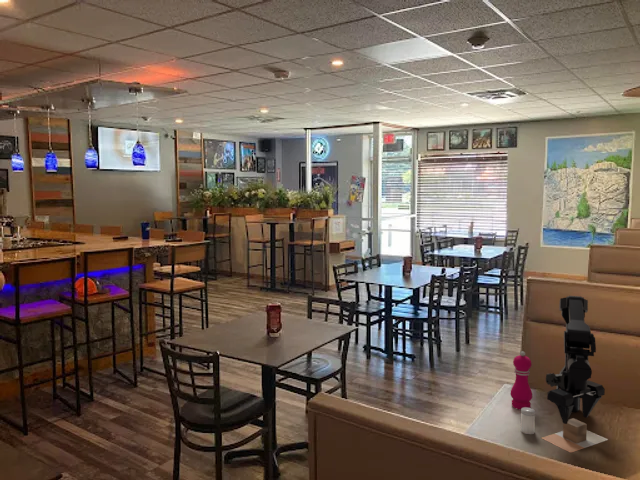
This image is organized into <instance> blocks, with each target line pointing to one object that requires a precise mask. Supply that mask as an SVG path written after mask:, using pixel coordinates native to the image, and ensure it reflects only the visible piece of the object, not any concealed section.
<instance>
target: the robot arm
mask: <svg viewBox="0 0 640 480" xmlns="http://www.w3.org/2000/svg"><path fill="white" fill-rule="evenodd" d="M588 303H589V300H588V299H585V298H584V297H583V296H581V295H567V296H566V297H562V298H559V307H558V308H559V310H558V311H559V312H561V313H560V315H561V317H562V318H563V320H564V323H565V330H564V331H563V351H564V352H563V353H564V366H563V367H562V368H561V370H559V373H557V374H555V372H553V373H546V375H545V376H546V377H545V382H546V384H547V385H549V386H550V388H552V387H556V388H555V389H551V390H549V391H548V392H546V394H547V395H546V398H547V400H548V401H550V402H551V403H553V404H555V405H556V407H557V409H558V412H559V415H560V417H561V421H562V424H563V423H564V424H567V423H568V420H569V419H570V417H571V415H572V413H578V412H579V411H580V407H581V406H582V408H581V409H582V417H583V418H586V419H587V418H588V417H589V415H590V414H591V413H592V411H593V409H594V408H595V406H596V405H597V404H598V402H599V401H600V399H602V396H604V395H605V390H606V389H605V387H604V386H603V385H602V384H600V383H597V382H594V381H591V380H589V379H591V378H592V374H593V372H592V368H591V363H590V362H589V357H595V353H596V352H597V348H596V347H597V346H596V344H597V343H596V337H595V336H594V335H595V334H594V333H592V332H591V327H590V325H589V324H587V323H586V322H585V317H586V313H588V310H589V304H588Z"/></svg>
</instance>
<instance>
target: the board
mask: <svg viewBox="0 0 640 480" xmlns="http://www.w3.org/2000/svg"><path fill="white" fill-rule="evenodd" d="M541 439H542V440H545V441H546V442H548V443H550V444H553V445H554V446H556V447H558V448H560V449H561V450H564V451H566V452H569V453H570V454H571V453H574V452H578V451H581V450H583V449H586V448H588V447H592V446H594V445H597V444H600V443H603V442H606V441H608V440H609V439H608V438H606V437H604V436H601V435H598V434H597V433H595V432H592V431H590V430H588V429H587V436H586V441H583V442H580V443H577V444H576V443H574V442H572V441H570V440H568V439H566V438H564V437H563V430H561V431H558V432H556V433H552V434H549V435H546V436H543V437H541Z"/></svg>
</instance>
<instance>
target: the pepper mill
mask: <svg viewBox="0 0 640 480" xmlns="http://www.w3.org/2000/svg"><path fill="white" fill-rule="evenodd" d="M512 360H513V361H512V364H513V366H514V373H515V380H514V383H513V385H512V387H511V389H510V397H511V399H512V400H511V407H513V408H514V409H515V410H520V411H521V408H524V407H527V408H531V407H532V406H531V405H532V403H531V402H530V401H532V399H533V392H532V389H531V387H530V384H529V375H530V374H531V373H530V372H531V371H530V369H531V368H532V361H531V359H530V357H529V356H527V355H526V352H525V351H523V350H522V351H520V353H519V355H516V356H515V357H514V358H513V359H512Z"/></svg>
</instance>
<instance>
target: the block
mask: <svg viewBox="0 0 640 480" xmlns="http://www.w3.org/2000/svg"><path fill="white" fill-rule="evenodd" d="M562 424H563V426H562V427H563V429H562V431H563V437H564V438H566V439H568V440H570V441H572V442H574V443H576V444H577V443H580V442H583V441H586V436H587V430H588V429H587V428H588V425H587V424H588V423H585V422H583V421H580V420H578V419H577V418H574V417H573V418H569V420H568V423H567V424H564V423H563V422H562Z"/></svg>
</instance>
